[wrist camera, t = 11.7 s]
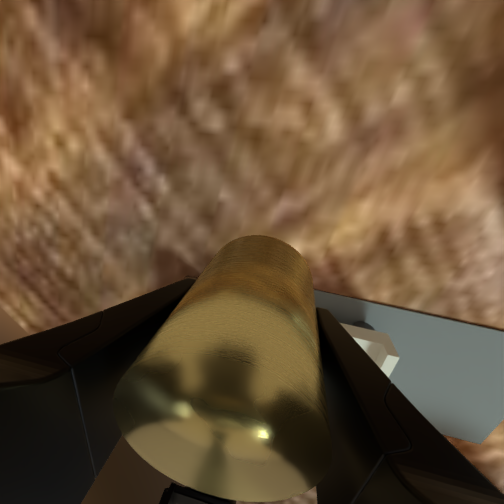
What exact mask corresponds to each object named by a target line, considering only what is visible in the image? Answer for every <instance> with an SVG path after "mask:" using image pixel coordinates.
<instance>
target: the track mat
mask: <svg viewBox="0 0 504 504" xmlns="http://www.w3.org/2000/svg"><path fill="white" fill-rule="evenodd" d="M314 297H315V306H316V307H320V308H324V309H327V310H329V312H330V313H331V314H332V315H333V316H334V317H335V318H336V319H337V320H338V322H339V323H343V324H347V325H352V326H354V324H355V322H357V321H363V322H366V323H368V324H369V325H371V326H372V327H373V328H374V330H375V331H378V332H382V333H387V334H388V335H389V337H390V339H391V341H392V343H393V345H394V347H395V349H396V351H397V353H398V355H399V357H400V358H399V360H398V362H397V363H396V365H395V367H394V369H393V371H392V372H391V374H390V376H389V379H390V380H391V383H394V384H395V385H396V387H397V388H398V389H399V390H400V391H401V392H402V393H403V394H404V396H405V397H406V398H407V399H408V400H409V401H410V402H411V403H412V404H413V405H414V406H415V407H416V408H417V410H418V411H419V412H420V413H421V414H422V415H423V416H424V417H425V418H426V419H427V420H428V421H429V422H430V423H431V424H432V425H433V426H434V427H435V428H436V429H437V430H438V431H439V432H440V433H441V434H443V435H447V436H450V437H454V438H458V439H462V440H466V441H469V442H473V443H477V444H481V443H482V442H483V441H484V440H485V439H486V438H487V436H488V435H489V434H490V433H491V432H492V431H493V430H494V429H495V428H496V427H497V426H498V425H499V424H500V423H501V421H502V420H503V419H504V331H501V330H497V329H492V328H487V327H483V326H478V325H474V324H469V323H465V322H460V321H455V320H451V319H446V318H442V317H437V316H433V315H428V314H424V313H419V312H414V311H410V310H405V309H401V308H396V307H392V306H387V305H383V304H378V303H373V302H369V301H364V300H360V299H355V298H351V297H346V296H342V295H337V294H332V293H328V292H323V291H319V290H314Z"/></svg>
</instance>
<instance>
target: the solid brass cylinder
mask: <svg viewBox="0 0 504 504" xmlns="http://www.w3.org/2000/svg"><path fill="white" fill-rule="evenodd" d="M113 411H114V415H115V419H116V422H117V424H118V427H119V429H120V431H121V432H122V434H123V436H124V437H125V439H126V440H127V441H128V443H129V444H130V445H131V446H132V448H133V449H134V450H135V451H136V452H137V453H138V454H139V455H140V456H141V457H142V458H143V459H144V460H145V461H147V462H148V463H149V464H151V465H152V466H153V467H154V468H156V469H157V470H159V471H160V472H162V473H163V474H165V475H166V476H168V477H170V478H172V479H173V480H175V481H177V482H179V483H181V484H183V485H185V486H188V487H190V488H192V489H195V490H198V491H200V492H203V493H206V494H209V495H213V496H217V497H221V498H225V499H230V500H237V501H246V502H271V501H279V500H284V499H289V498H292V497H295V496H298V495H301V494H303V493H305V492H307V491H309V490H310V489H312V488H313V487H314V486H316V485H317V484H318V483H319V482H320V481H321V480H322V479H323V478H324V476H325V475H326V473H327V472H328V469H329V467H330V464H331V459H332V445H331V436H330V427H329V419H328V410H327V401H326V393H325V384H324V375H323V366H322V358H321V349H320V340H319V332H318V323H317V314H316V306H315V297H314V288H313V280H312V275H311V271H310V269H309V266H308V264H307V263H306V261H305V259H304V258H303V257H302V256H301V254H300V253H299V252H298V251H296V250H295V249H294V248H293V247H291V246H290V245H289V244H287V243H285V242H283V241H281V240H279V239H276V238H273V237H269V236H262V235H251V236H245V237H241V238H238V239H235V240H233V241H231V242H229V243H228V244H226V245H225V246H224V247H222V248H221V249H220V250H219V251H218V253H217V254H216V255H215V257H214V258H213V259H212V260H211V262H210V263H209V264H208V266H207V267H206V268H205V270H204V271H203V272H202V274H201V275H200V276H199V277H198V279H197V280H196V281H195V283H194V284H193V285H192V287H191V288H190V289H189V291H188V292H187V293H186V294H185V296H184V297H183V298H182V300H181V301H180V302H179V304H178V305H177V306H176V307H175V309H174V310H173V311H172V313H171V314H170V315H169V317H168V318H167V319H166V321H165V322H164V323H163V324H162V326H161V327H160V328H159V330H158V331H157V332H156V334H155V335H154V336H153V338H152V339H151V340H150V341H149V343H148V344H147V345H146V347H145V348H144V349H143V351H142V352H141V353H140V355H139V356H138V357H137V358H136V360H135V361H134V362H133V364H132V365H131V366H130V368H129V369H128V370H127V372H126V373H125V374H124V375H123V377H122V378H121V380H120V381H119V383H118V384H117V387H116V389H115V392H114V397H113Z"/></svg>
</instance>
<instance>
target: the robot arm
mask: <svg viewBox="0 0 504 504" xmlns="http://www.w3.org/2000/svg"><path fill="white" fill-rule="evenodd" d="M195 281H196V280H195V279H191V278H187V279H184V280H181V281H179V282H176V283H173V284H171V285H168V286H166V287H163V288H160V289H158V290H155V291H153V292H150V293H147V294H145V295H142V296H139V297H137V298H134V299H132V300H129V301H126V302H124V303H121V304H118V305H116V306H113V307H111V308H108V309H105V310H104V311H100V312H97V313H95V314H92V315H90V316H87V317H84V318H81V319H78V320H76V321H73V322H70V323H67V324H64V325H61V326H58V327H55V328H52V329H49V330H45V331H42V332H39V333H36V334H33V335H30V336H26V337H23V338H20V339H17V340H14V341H10V342H7V343H4V344H1V345H0V504H81V502H82V500H83V499H84V497H85V496H86V494H87V492H88V490H89V489H90V487H91V486H92V484H93V483H94V481H95V478H96V477H97V476H98V474H99V472H100V471H101V469H102V467H103V466H104V464H105V462H106V461H107V459H108V457H109V456H110V454H111V452H112V451H113V449H114V448H115V446H116V444H117V442H118V441H119V439H120V438H121V436H122V432H121V431H120V429H119V427H118V424H117V422H116V419H115V415H114V411H113V397H114V392H115V389H116V387H117V384H118V383H119V381H120V380H121V378H122V377H123V375H124V374H125V373H126V372H127V370H128V369H129V368H130V366H131V365H132V364H133V362H134V361H135V360H136V358H137V357H138V356H139V355H140V353H141V352H142V351H143V349H144V348H145V347H146V345H147V344H148V343H149V341H150V340H151V339H152V338H153V336H154V335H155V334H156V332H157V331H158V330H159V328H160V327H161V326H162V324H163V323H164V322H165V321H166V319H167V318H168V317H169V315H170V314H171V313H172V311H173V310H174V309H175V307H176V306H177V305H178V304H179V302H180V301H181V300H182V298H183V297H184V296H185V294H186V293H187V292H188V291H189V289H190V288H191V287H192V285H193V284H194V283H195ZM316 314H317V323H318V332H319V340H320V349H321V358H322V366H323V375H324V384H325V393H326V401H327V410H328V419H329V427H330V436H331V445H332V459H331V464H330V467H329V469H328V472H327V473H326V475H325V476H324V478H323V479H322V480H321V481H320V482H319V483H318V484H317V485H316V490H317V503H318V504H504V494H503V493H501V492H500V491H499V490H498V489H497V488H496V487H495V486H494V485H493V484H492V483H491V482H490V481H489V480H488V479H487V478H486V477H485V476H484V475H483V474H482V473H481V472H480V471H479V470H478V469H477V468H476V467H475V466H474V465H473V464H471V463H470V462H469V461H468V460H467V459H466V458H465V457H464V456H463V455H462V454H461V453H460V452H459V451H458V450H457V449H456V448H455V447H454V446H453V445H452V444H451V443H450V442H449V441H448V440H447V439H446V438H445V437H444V436H443V435H442V434H441V433H440V432H439V431H438V430H437V429H436V428H435V427H434V426H433V425H432V424H431V423H430V422H429V421H428V420H427V419H426V418H425V417H424V416H423V415H422V414H421V413H420V412H419V411H418V410H417V408H416V407H415V406H414V405H413V404H412V403H411V402H410V401H409V400H408V399H407V398H406V397H405V396H404V394H403V393H402V392H401V391H400V390H399V389H398V388H397V387H396V385H395V384H394V383H391V380H390V379H389V378H388V377H387V376H386V374H385V373H384V372H383V371H382V370H381V369H380V368H379V367H378V365H377V364H376V363H375V362H374V361H373V360H372V359H371V358H370V356H369V355H368V354H367V353H366V352H365V351H364V350H363V349H362V347H361V346H360V345H359V344H358V343H357V342H356V341H355V340H354V338H353V337H352V336H351V335H350V334H349V333H348V332H347V331H346V329H345V328H344V327H343V326H342V325H341V324H340V323H339V322H338V320H337V319H336V318H335V317H334V316H333V315H332V314H331V313H330V312H329V310H327V309H324V308H320V307H316ZM159 504H236V500H230V499H225V498H221V497H217V496H213V495H209V494H206V493H203V492H200V491H198V490H195V489H192V488H190V487H188V486H185V487H182V486H179V485H176V483H174V482H172V483H171V485H170V487H169V488H165V490H164V492H163V495H162V497H161V500H160V503H159Z"/></svg>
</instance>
